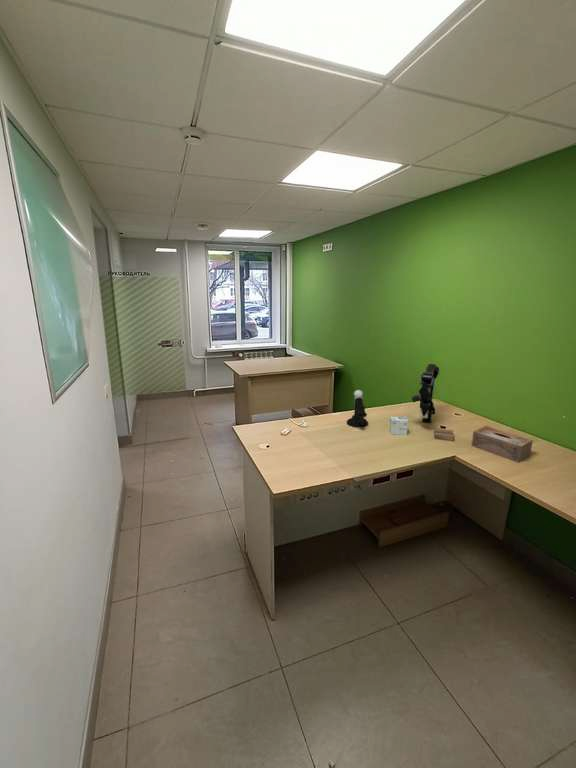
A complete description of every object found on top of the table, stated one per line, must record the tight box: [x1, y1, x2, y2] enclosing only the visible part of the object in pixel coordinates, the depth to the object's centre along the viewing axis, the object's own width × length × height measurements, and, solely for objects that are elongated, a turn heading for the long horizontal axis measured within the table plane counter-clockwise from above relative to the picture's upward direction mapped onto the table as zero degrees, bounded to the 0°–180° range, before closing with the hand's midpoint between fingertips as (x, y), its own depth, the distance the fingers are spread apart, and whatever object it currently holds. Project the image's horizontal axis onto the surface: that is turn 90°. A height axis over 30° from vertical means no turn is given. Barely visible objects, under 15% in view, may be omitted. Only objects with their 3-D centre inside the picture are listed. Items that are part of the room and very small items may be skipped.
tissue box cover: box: [471, 425, 534, 464], centre depth 197 cm, size 26×14×10 cm, turn 34°
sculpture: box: [346, 389, 369, 428], centre depth 234 cm, size 15×24×25 cm, turn 1°
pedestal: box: [433, 428, 455, 442], centre depth 217 cm, size 11×11×3 cm
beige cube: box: [419, 407, 428, 419], centre depth 224 cm, size 5×5×6 cm
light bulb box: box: [389, 416, 409, 436], centre depth 223 cm, size 11×7×11 cm, turn 84°
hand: (423, 414), depth 225 cm, fingers closed on beige cube, 5 cm apart
